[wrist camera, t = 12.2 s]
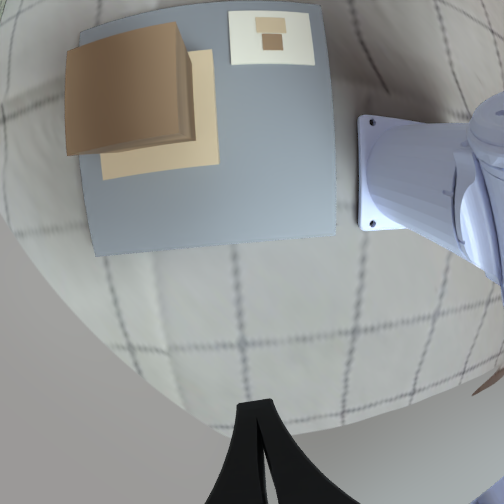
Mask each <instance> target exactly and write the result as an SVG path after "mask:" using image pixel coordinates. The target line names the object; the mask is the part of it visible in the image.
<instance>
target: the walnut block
mask: <svg viewBox="0 0 504 504" xmlns="http://www.w3.org/2000/svg"><path fill="white" fill-rule="evenodd" d="M65 134H66V150H67V156H73V155H85V154H102V153H119V152H124V151H130V150H135V149H141V148H147V147H153V146H159V145H166V144H173V143H181V142H189V141H196V131H195V116H194V98H193V75H192V62H191V60H190V57H189V55H188V52H187V49H186V47H185V44H184V42H183V39H182V36H181V34H180V31H179V29H178V26H177V23H176V21H175V22H169V23H164V24H158V25H153V26H148V27H144V28H139V29H135V30H131V31H127V32H123V33H120V34H116V35H113V36H109V37H106V38H103V39H100V40H97V41H94V42H91V43H88V44H85V45H82V46H80V47H77V48H74V49H72V50H69V51H67V61H66V76H65Z"/></svg>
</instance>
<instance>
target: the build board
mask: <svg viewBox="0 0 504 504" xmlns="http://www.w3.org/2000/svg"><path fill="white" fill-rule="evenodd" d="M175 21H176V23H177V26H178V29H179V31H180V34H181V36H182V39H183V42H184V44H185V47H186V49H187V52H188V55H189V57H190V60H191V62H192V75H193V98H194V116H195V131H196V141H189V142H181V143H173V144H166V145H159V146H153V147H147V148H141V149H135V150H130V151H124V152H119V153H102V154H85V155H79V161H80V170H81V179H82V187H83V194H84V200H85V207H86V213H87V218H88V224H89V229H90V234H91V239H92V243H93V248H94V252H95V257H99V256H109V255H119V254H129V253H140V252H150V251H161V250H171V249H182V248H193V247H204V246H215V245H227V244H238V243H250V242H261V241H273V240H285V239H297V238H310V237H322V236H335V235H336V153H335V130H334V113H333V100H332V88H331V77H330V68H329V59H328V51H327V43H326V36H325V29H324V23H323V17H322V11H321V5H315V4H307V3H296V2H283V1H223V2H210V3H200V4H191V5H184V6H177V7H171V8H165V9H160V10H155V11H150V12H146V13H141V14H137V15H133V16H129V17H125V18H122V19H118V20H115V21H111V22H108V23H105V24H102V25H99V26H96V27H93V28H90V29H88V30H85V31H82V32H80V41H79V47H80V46H82V45H85V44H88V43H91V42H94V41H97V40H100V39H103V38H106V37H109V36H113V35H116V34H120V33H123V32H127V31H131V30H135V29H139V28H144V27H148V26H153V25H158V24H164V23H169V22H175Z"/></svg>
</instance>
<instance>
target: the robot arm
mask: <svg viewBox="0 0 504 504" xmlns="http://www.w3.org/2000/svg"><path fill="white" fill-rule="evenodd" d="M370 119H371V120H372V121H373V126H371V125H370V123H369V121H370ZM357 123H358V145H359V214H358V226H359V228H360V229H362V230H363V231H374V230H388V229H403V228H408V229H410V230H412V231H414V232H416V233H418V234H420V235H422V236H424V237H425V238H427V239H429V240H431V241H433V242H435V243H437V244H439V245H440V246H442V247H444V248H446V249H448V250H449V251H451V252H453V253H455V254H457V255H458V256H460V257H462V258H463V259H465V260H467V261H469V262H470V263H472V264H474V265H475V266H477V267H479V268H480V269H482V270H484V271H485V274H486V277H487V278H489V279H490V280H492V281H493V282H495V283H496V284H498V285H499V286H501V296H502V303H503V307H504V91H503V92H500V93H498V94H496V95H494V96H492V97H490V98H488V99H487V100H485V101H484V102H482V103H481V104H480V105H479V106H478V107H477V108H476V110H475V111H474V113H473V116H472V118H471V120H470V121H469V123H432V124H426V123H421V122H415V121H409V120H403V119H397V118H390V117H382V116H374V115H361V116H359V118H358V121H357ZM372 220H373V225H372V226H370V222H371V221H372ZM264 452H265V455H266V459H267V462H268V466H269V469H270V473H271V476H272V479H273V482H274V486H275V489H276V493H277V498H278V503H279V504H360V503H359V502H357V501H356V500H354V499H353V498H351V497H350V496H349V495H347V494H346V493H345V492H343V491H342V490H341V489H340V488H338V487H337V486H336V485H335V484H334V483H332V482H331V481H330V480H329V479H328V478H327V477H326V476H325V475H324V474H323V473H321V472H320V470H319V469H318V468H317V467H316V466H315V465H314V464H313V463H312V462H311V461H310V460H309V458H307V456H306V455H305V454H304V452H303V451H302V450H301V449H300V447H299V446H298V445H297V443H296V442H295V441H294V439H293V438H292V436H291V435H290V433H289V432H288V430H287V429H286V427H285V426H284V424H283V422H282V420H281V418H280V417H279V415H278V413H277V410H276V408H275V406H274V403H273V400H272V399H270V398H269V399H263V400H257V401H251V402H244V403H239V404H238V405H237V411H236V419H235V425H234V430H233V435H232V438H231V442H230V446H229V450H228V453H227V455H226V459H225V461H224V464H223V467H222V470H221V472H220V474H219V477H218V479H217V481H216V483H215V485H214V488H213V490H212V491H211V493H210V495H209V497H208V499H207V501H206V502H205V504H268V500H267V492H266V480H265V479H266V478H265V464H264ZM469 504H504V476H503V477H502V478H501V479H500V480H499V481H498V482H496V483H495V484H494V485H493V486H491V487H490V488H489V489H488V490H487V491H485V492H484V493H483V494H481V495H480V496H479V497H478V498H476V499H475V500H474V501H472V502H471V503H469Z"/></svg>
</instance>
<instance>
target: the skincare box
mask: <svg viewBox="0 0 504 504" xmlns="http://www.w3.org/2000/svg"><path fill="white" fill-rule="evenodd" d="M5 2H6V0H0V19H1V16H2V12H3V9H4V5H5Z"/></svg>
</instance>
